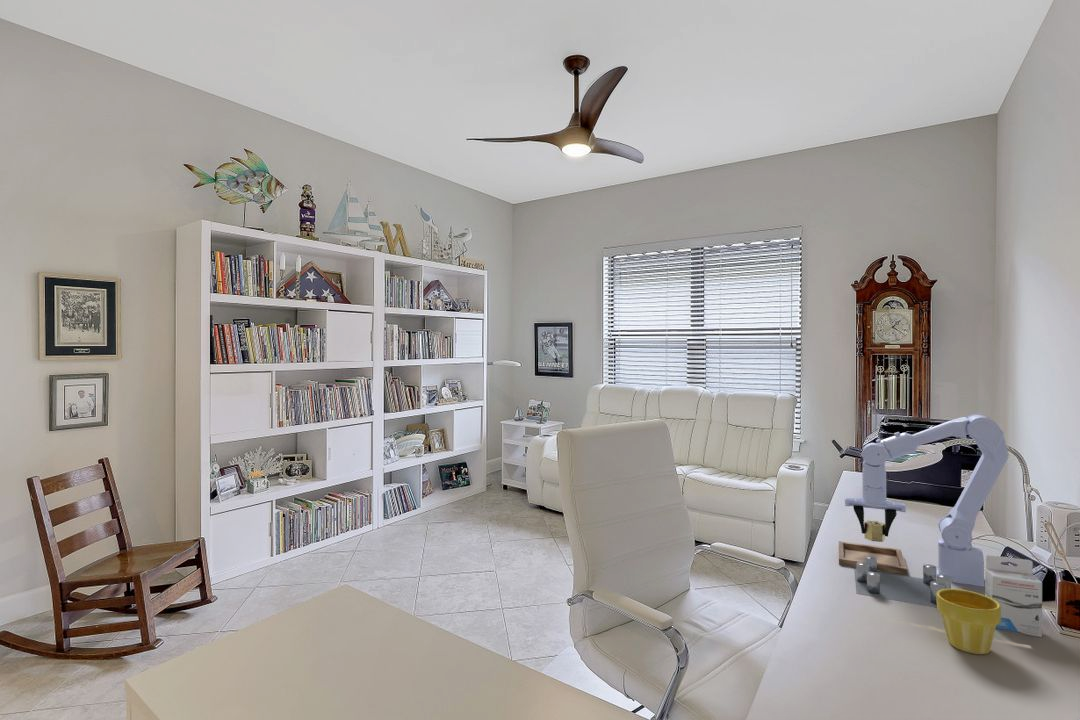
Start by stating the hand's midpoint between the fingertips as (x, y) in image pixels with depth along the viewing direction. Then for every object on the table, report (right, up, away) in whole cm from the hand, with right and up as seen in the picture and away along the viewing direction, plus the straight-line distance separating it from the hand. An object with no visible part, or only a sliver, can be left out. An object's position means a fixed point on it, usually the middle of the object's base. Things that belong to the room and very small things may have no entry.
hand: (874, 533), depth 153 cm
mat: (-3, -9, -16) cm, 18 cm away
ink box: (+8, -9, -35) cm, 37 cm away
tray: (+1, -9, +3) cm, 9 cm away
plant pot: (-7, -10, -42) cm, 43 cm away
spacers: (-3, -9, -16) cm, 18 cm away
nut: (0, -1, 0) cm, 1 cm away
